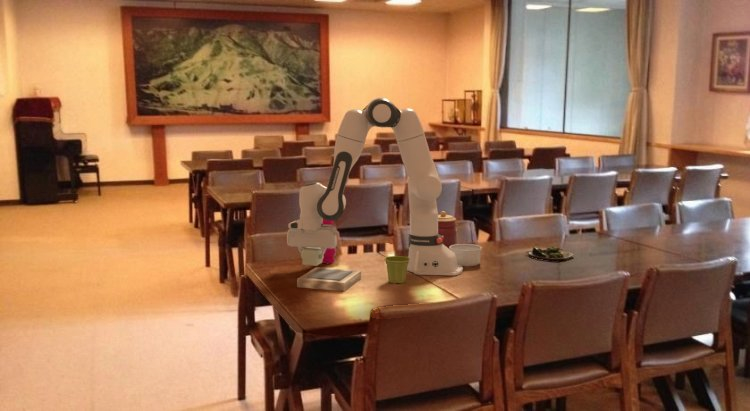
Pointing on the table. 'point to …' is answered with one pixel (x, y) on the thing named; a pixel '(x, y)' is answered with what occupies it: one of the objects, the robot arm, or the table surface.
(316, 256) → the sage cube
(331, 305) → the table surface
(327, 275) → the plinth
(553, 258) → the salad plate
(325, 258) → the pepper mill
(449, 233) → the canister
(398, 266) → the plant pot
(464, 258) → the ramekin
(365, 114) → the robot arm
